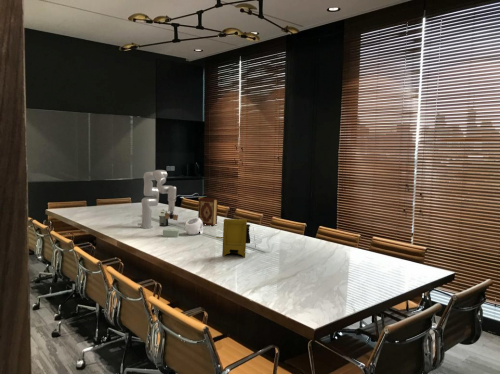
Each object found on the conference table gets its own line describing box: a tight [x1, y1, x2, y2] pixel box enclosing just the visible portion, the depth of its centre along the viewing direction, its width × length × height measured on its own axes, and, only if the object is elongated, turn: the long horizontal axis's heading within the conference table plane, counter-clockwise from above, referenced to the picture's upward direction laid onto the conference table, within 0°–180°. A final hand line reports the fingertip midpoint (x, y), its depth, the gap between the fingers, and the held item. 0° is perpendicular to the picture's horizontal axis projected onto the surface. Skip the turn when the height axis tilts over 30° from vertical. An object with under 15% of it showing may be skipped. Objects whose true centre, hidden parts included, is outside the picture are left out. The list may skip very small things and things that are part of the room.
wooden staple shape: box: [164, 212, 179, 221], centre depth 366 cm, size 12×5×5 cm, turn 95°
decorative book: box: [197, 197, 219, 226], centre depth 437 cm, size 22×8×30 cm, turn 62°
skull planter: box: [184, 216, 204, 236], centre depth 383 cm, size 14×20×19 cm
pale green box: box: [162, 227, 180, 238], centre depth 369 cm, size 14×10×7 cm
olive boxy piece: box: [216, 218, 256, 258], centre depth 307 cm, size 31×14×30 cm, turn 92°
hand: (171, 218), depth 368 cm, fingers closed on wooden staple shape
